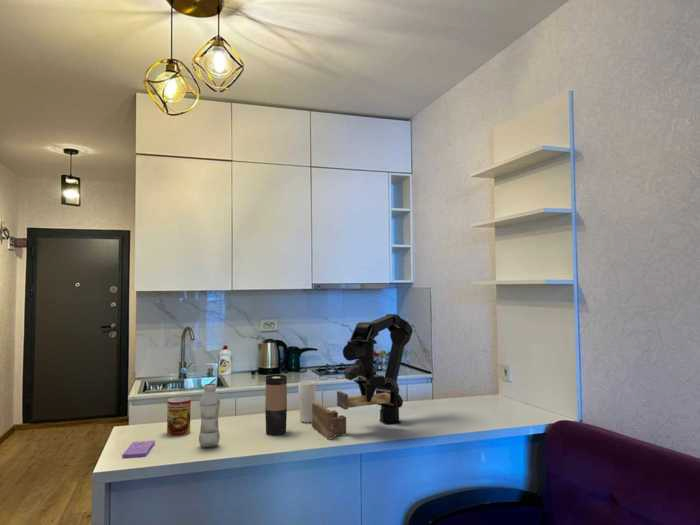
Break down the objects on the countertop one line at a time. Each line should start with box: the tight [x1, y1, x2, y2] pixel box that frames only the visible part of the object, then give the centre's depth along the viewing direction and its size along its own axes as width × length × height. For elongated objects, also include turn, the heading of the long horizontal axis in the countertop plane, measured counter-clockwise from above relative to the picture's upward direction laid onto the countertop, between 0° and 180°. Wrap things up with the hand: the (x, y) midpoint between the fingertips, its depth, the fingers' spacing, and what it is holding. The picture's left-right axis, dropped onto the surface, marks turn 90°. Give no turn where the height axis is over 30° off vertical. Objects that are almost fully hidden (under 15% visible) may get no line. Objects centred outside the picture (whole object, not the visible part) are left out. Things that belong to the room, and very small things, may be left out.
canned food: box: [166, 396, 192, 437], centre depth 178 cm, size 8×8×12 cm
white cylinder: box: [297, 380, 317, 424], centre depth 193 cm, size 7×7×15 cm
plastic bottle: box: [198, 383, 221, 448], centre depth 163 cm, size 6×7×20 cm
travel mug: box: [264, 374, 288, 437], centre depth 178 cm, size 8×8×20 cm
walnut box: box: [311, 402, 347, 440], centre depth 178 cm, size 8×16×9 cm, turn 23°
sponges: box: [121, 440, 156, 459], centre depth 158 cm, size 7×13×2 cm, turn 10°
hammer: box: [336, 390, 390, 410], centre depth 179 cm, size 19×6×5 cm, turn 116°
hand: (366, 400), depth 179 cm, fingers closed on hammer, 3 cm apart
